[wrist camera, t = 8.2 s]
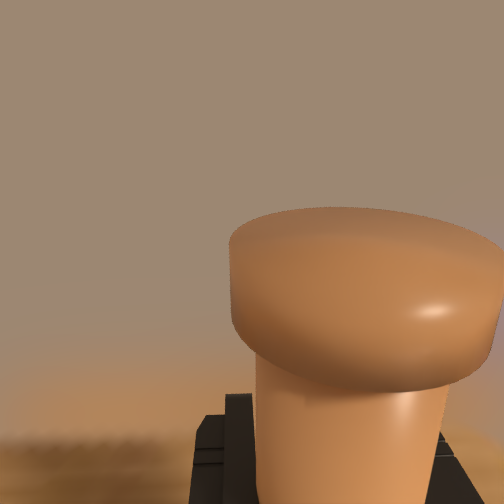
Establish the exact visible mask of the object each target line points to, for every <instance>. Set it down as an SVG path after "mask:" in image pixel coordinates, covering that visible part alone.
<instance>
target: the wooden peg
mask: <svg viewBox="0 0 504 504" xmlns="http://www.w3.org/2000/svg"><path fill="white" fill-rule="evenodd" d="M229 255H230V256H229V258H230V294H231V316H232V322H233V325H234V327H235V330H236V331H237V333H238V335H239V336H240V338H241V339H242V340H243V341H244V342H245V343H246V344H247V345H248V346H249V348H250V349H252V350H253V351H254V352H256V487H257V495H258V501H259V504H425V499H426V494H427V490H428V485H429V480H430V475H431V471H432V466H433V461H434V456H435V452H436V447H437V442H438V438H439V433H440V428H441V423H442V419H443V414H444V409H445V404H446V399H447V395H448V390H449V385H450V384H451V383H455V382H457V381H459V380H461V379H463V378H465V377H467V376H469V375H470V374H472V373H473V372H474V371H476V370H477V369H478V368H480V367H481V365H482V364H483V363H484V362H485V360H486V359H487V357H488V355H489V353H490V350H491V346H492V342H493V338H494V334H495V330H496V326H497V322H498V318H499V314H500V310H501V306H502V301H503V298H504V251H503V250H502V249H501V248H500V247H498V246H497V245H496V244H495V243H493V242H491V241H490V240H488V239H487V238H485V237H483V236H481V235H479V234H477V233H475V232H473V231H470V230H467V229H465V228H463V227H459V226H457V225H454V224H451V223H448V222H444V221H441V220H437V219H433V218H428V217H424V216H419V215H414V214H409V213H403V212H397V211H389V210H381V209H369V208H354V207H323V208H321V207H320V208H306V209H296V210H290V211H283V212H278V213H273V214H269V215H266V216H262V217H259V218H256V219H254V220H251V221H249V222H247V223H245V224H243V225H242V226H240V227H239V228H238V229H237V230H236V231H235V232H234V233H233V234H232V236H231V237H230V241H229Z"/></svg>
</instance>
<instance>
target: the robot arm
mask: <svg viewBox="0 0 504 504" xmlns="http://www.w3.org/2000/svg"><path fill="white" fill-rule="evenodd" d="M189 504H259V501H258V495H257V487H256V452H255V436H254V420H253V405H252V393H251V394H250V393H249V394H248V393H247V394H226V397H225V415H206V416H205V418H204V420H203V421H202V423H201V424H200V426H199V428H198V429H197V432H196V441H195V452H194V459H193V468H192V478H191V487H190V496H189ZM425 504H484V502H483V500H482V499H481V497H480V495H479V494H478V492H477V491H476V489H475V487H474V486H473V484H472V482H471V481H470V479H469V478H468V476H467V474H466V473H465V471H464V469H463V468H462V466H461V464H460V463H459V461H458V460H457V458H456V457H454V453H453V451H452V450H451V448H450V447H449V445H448V443H446V442H445V438H444V437H443V435H442V434H441V432H440V433H439V438H438V442H437V447H436V452H435V456H434V461H433V466H432V471H431V475H430V480H429V485H428V490H427V494H426V499H425Z"/></svg>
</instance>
